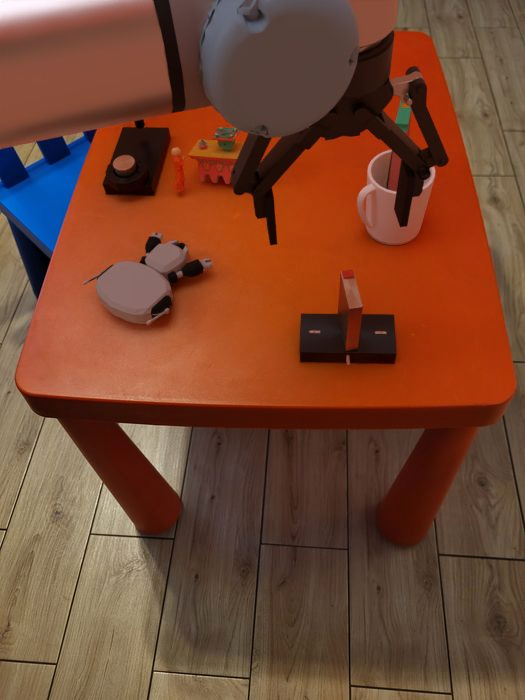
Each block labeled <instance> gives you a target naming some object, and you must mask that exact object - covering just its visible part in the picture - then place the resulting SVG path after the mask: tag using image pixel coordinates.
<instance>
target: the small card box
mask: <svg viewBox="0 0 525 700" xmlns="http://www.w3.org/2000/svg"><path fill="white" fill-rule="evenodd" d="M337 304H338V305H337V314H338V320H339V325H340V329H341V334H342V338H343V343H344V347H345V351H351V350H358V345H359V336H360V328H361V319H362V314H363V310H364V304H363V301H362V296H361V293H360V289H359V285H358V281H357V277H356V274H355V270H354V269H346V270H341V271H339V287H338V303H337Z"/></svg>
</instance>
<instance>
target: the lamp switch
mask: <svg viewBox="0 0 525 700" xmlns="http://www.w3.org/2000/svg"><path fill="white" fill-rule="evenodd" d="M113 167H114V170H115V173H116V175H117V176H118V177H119V178H128V177H131V176H133V175H134V174H136V173H137V166H136V163H135V160H134V158H133V157H132V156H129V155H122V156H119V157H117V158H116V159H115V160H114V162H113Z"/></svg>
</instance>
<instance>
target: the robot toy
mask: <svg viewBox="0 0 525 700" xmlns="http://www.w3.org/2000/svg"><path fill="white" fill-rule="evenodd" d="M163 238H164V234H163V233H162V232H158V231H153V232H152V233H151V234H150V236H148V239H147V240H146V242H145V245H144V246H145V247H144V250H145V255H143V256H141V258H140V260H139V262H137V261H131V260H123V261H117V262H115V263H114V264H111V265H109V267H107V268H105V269H103V270H102V271H100V273H98V274H96V275H95V276H92V277H90V278H89V279H86V280H84V281H83V282H82V283H81V285H83V286H86V285H87V284H89V283H90V282H92V281H94V280H96V282H95V285H94V287H95V291H96V294H97V296H98V299H99V301H100V303H101V304H102V306H103V307H104V308H105V309H106V310H107V311H108V312H109V313H110V314H111V315H113V316H115V317H117V318H118V319H119V318H120V319H122V320H124V321H126V322H129V323H133V324H146V325H147V326H149V325H151V324H152V323H153V322H155V321H157V320H159V319H160V318H162V317H163V316H164V315H168V314H169V313H170V310H171V308H172V306H173V299H174V296H173V295H174V294H173V292H172V287H171V285H173V284H176V283H178V282H179V279H180V278H182V277H185V278H191V279H194V278H196V277H199V276H201V275H204V270H210V269H212V267H213V266H214V265H213V264H214V263H213V262H212V260H211V258H208V257H205V258H203V259H201V260H199V258H196V259H194V260H192V261H191V259H190V253H189V247H188V245H187V244H186V243H185V242H179V240H176V239H175V240H173V239H172V240H169V241H167V242H162V240H163Z"/></svg>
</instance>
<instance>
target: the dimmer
mask: <svg viewBox="0 0 525 700" xmlns="http://www.w3.org/2000/svg"><path fill="white" fill-rule="evenodd" d="M299 329H300V331H299V363H318V364H319V363H321V364H322V363H323V364H324V363H325V364H326V363H327V364H346V366H350V365H351V364H374V365H375V364H377V365H378V364H380V365H381V364H382V365H383V364H384V365H395V363H396V359H397V354H398V350H397V349H398V348H397V336H396V334H397V333H396V322H395V314H392V313H391V314H390V313H386V314H385V313H362V319H361V328H360V336H359V345H358V350H351V351H345V347H344V343H343V338H342V334H341V329H340V325H339V320H338V313H300V328H299Z"/></svg>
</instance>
